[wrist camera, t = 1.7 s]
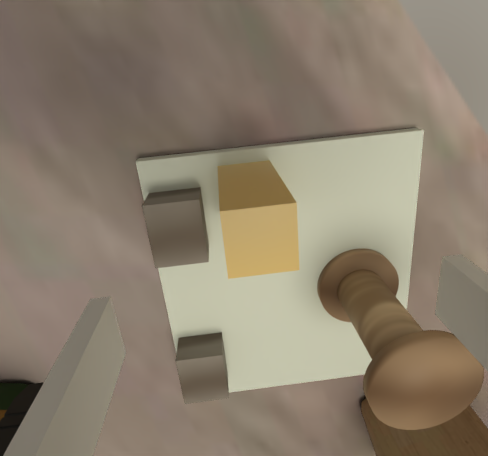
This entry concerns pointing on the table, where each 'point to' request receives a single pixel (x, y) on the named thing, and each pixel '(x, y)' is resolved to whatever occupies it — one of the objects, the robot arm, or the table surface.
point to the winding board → (310, 252)
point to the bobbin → (398, 345)
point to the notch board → (183, 253)
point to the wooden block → (429, 436)
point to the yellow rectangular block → (257, 220)
